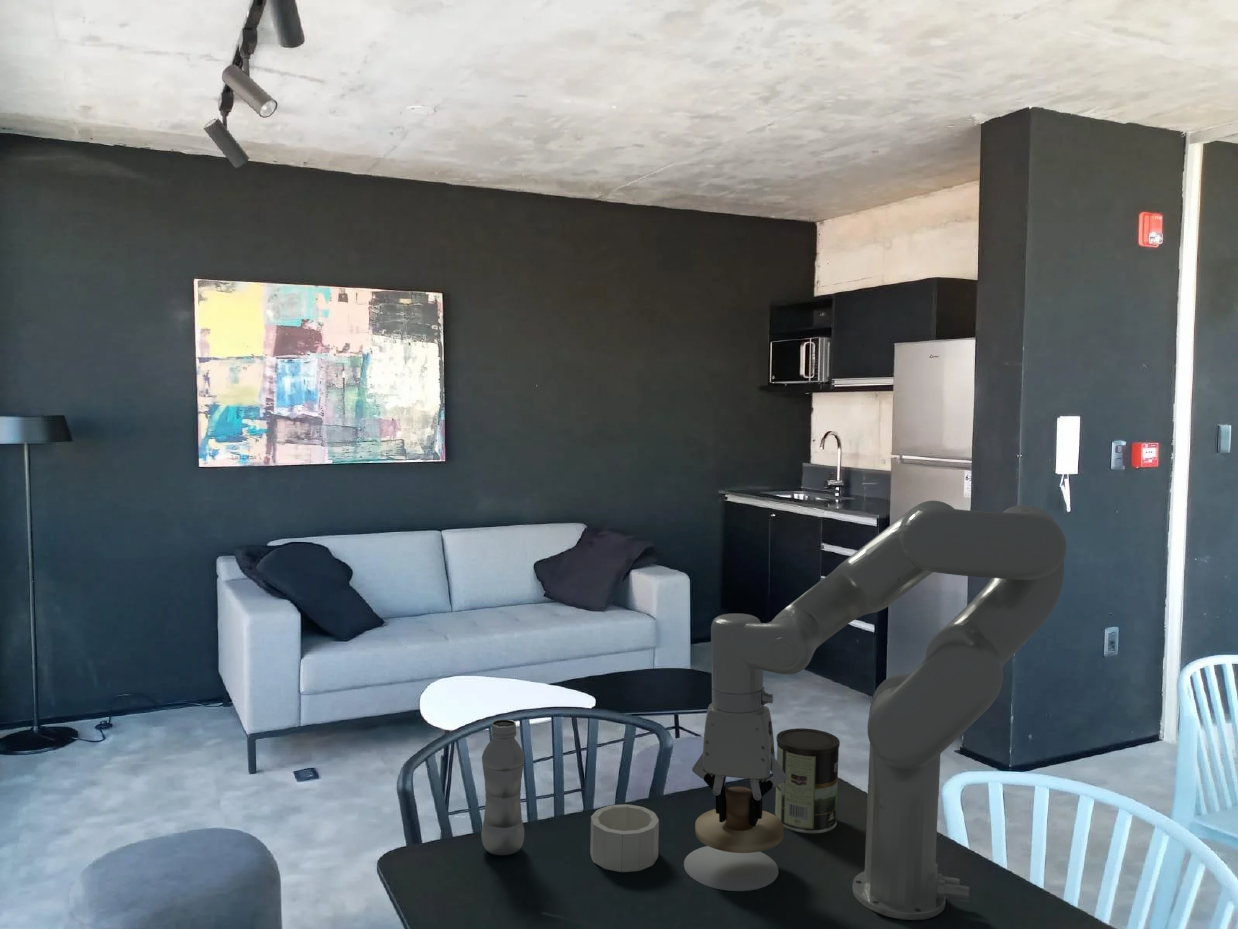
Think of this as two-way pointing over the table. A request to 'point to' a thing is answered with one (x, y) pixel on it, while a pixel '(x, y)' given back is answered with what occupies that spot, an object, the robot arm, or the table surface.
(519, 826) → the plastic bottle
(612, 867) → the bowl
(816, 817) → the coffee can
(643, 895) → the table surface
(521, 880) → the table surface
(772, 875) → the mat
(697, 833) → the lid
